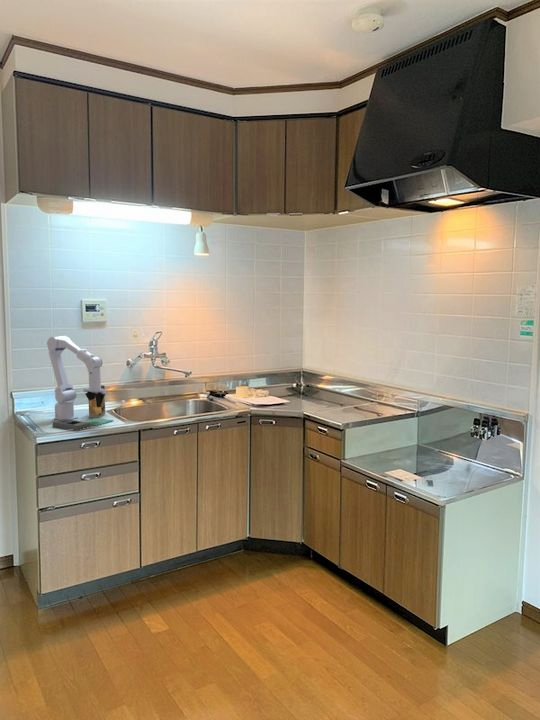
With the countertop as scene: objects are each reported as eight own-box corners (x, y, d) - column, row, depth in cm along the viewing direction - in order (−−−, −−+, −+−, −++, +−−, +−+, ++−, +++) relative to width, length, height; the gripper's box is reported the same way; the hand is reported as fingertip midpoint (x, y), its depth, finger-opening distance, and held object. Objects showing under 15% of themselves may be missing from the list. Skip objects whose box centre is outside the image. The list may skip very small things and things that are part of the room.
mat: (79, 423, 281) (78, 422, 281) (96, 418, 291) (96, 417, 291) (96, 426, 275) (96, 425, 275) (113, 421, 286) (113, 420, 286)
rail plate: (52, 426, 274) (52, 421, 274) (65, 423, 281) (65, 418, 281) (77, 431, 266) (77, 425, 266) (89, 427, 273) (89, 422, 273)
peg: (89, 413, 282) (89, 400, 281) (95, 412, 285) (95, 398, 284) (95, 414, 280) (95, 400, 279) (101, 412, 283) (100, 399, 282)
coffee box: (100, 417, 294) (99, 388, 292) (88, 417, 294) (87, 387, 292) (106, 413, 303) (104, 385, 301) (94, 413, 303) (93, 385, 301)
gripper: (78, 380, 280) (79, 406, 282) (99, 382, 274) (100, 409, 275) (88, 378, 286) (89, 404, 288) (109, 380, 280) (110, 406, 282)
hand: (95, 406), depth 282 cm, fingers closed on peg, 4 cm apart
